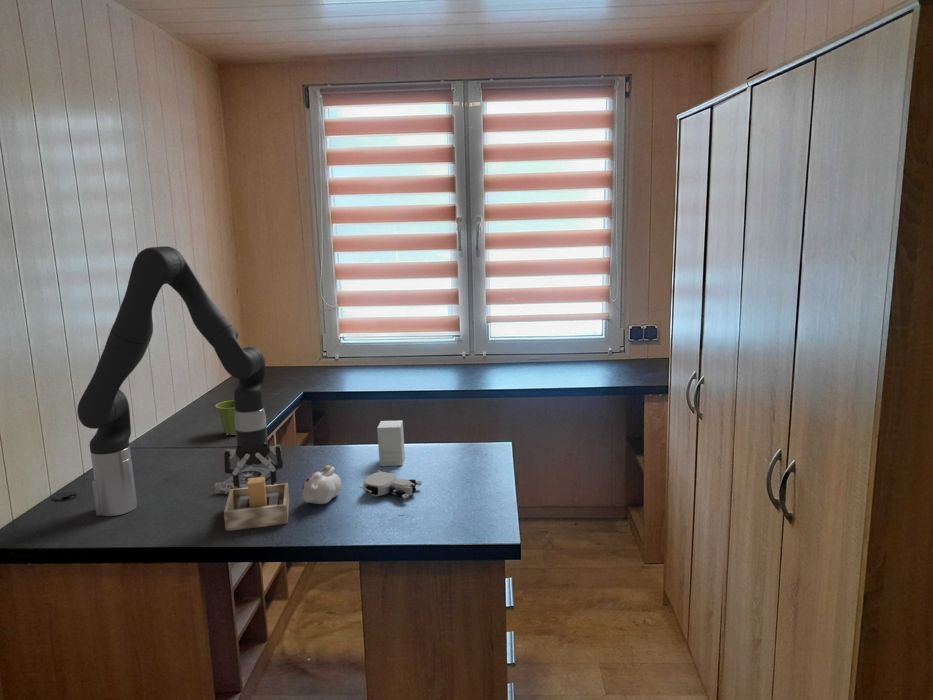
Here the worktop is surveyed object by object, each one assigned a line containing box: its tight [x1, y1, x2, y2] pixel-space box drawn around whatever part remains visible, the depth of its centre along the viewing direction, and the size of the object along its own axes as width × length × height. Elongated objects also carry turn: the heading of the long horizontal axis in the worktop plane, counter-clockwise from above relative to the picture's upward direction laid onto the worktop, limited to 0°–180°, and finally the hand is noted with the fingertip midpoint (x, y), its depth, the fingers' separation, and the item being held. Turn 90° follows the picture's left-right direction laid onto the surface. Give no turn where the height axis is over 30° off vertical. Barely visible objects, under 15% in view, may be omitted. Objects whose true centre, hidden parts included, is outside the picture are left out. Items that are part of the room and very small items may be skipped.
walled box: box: [223, 482, 290, 532], centre depth 174 cm, size 15×15×5 cm
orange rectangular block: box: [248, 477, 267, 507], centre depth 174 cm, size 4×4×9 cm
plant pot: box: [214, 399, 236, 434], centre depth 242 cm, size 12×12×11 cm
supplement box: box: [376, 420, 406, 467], centre depth 209 cm, size 7×7×13 cm
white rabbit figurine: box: [301, 464, 343, 505], centre depth 182 cm, size 10×8×15 cm
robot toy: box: [357, 469, 422, 500], centre depth 186 cm, size 12×4×15 cm
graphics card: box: [214, 465, 271, 496], centre depth 195 cm, size 17×4×12 cm
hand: (255, 485), depth 173 cm, fingers open, 8 cm apart
